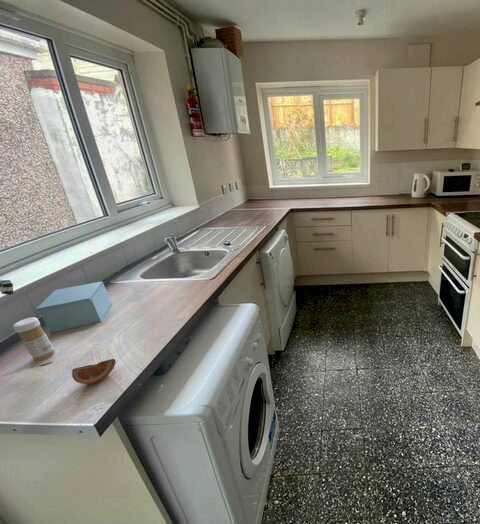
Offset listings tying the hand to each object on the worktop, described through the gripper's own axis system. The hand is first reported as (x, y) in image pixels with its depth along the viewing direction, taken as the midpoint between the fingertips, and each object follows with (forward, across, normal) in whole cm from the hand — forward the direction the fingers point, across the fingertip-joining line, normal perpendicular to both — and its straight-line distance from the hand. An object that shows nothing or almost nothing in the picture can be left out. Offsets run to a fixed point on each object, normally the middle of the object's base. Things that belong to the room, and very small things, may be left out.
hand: (6, 284), depth 73 cm
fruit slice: (-8, -22, +24) cm, 34 cm away
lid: (+27, -1, +8) cm, 28 cm away
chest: (+30, -2, +16) cm, 34 cm away
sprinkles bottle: (+6, -4, +23) cm, 24 cm away
